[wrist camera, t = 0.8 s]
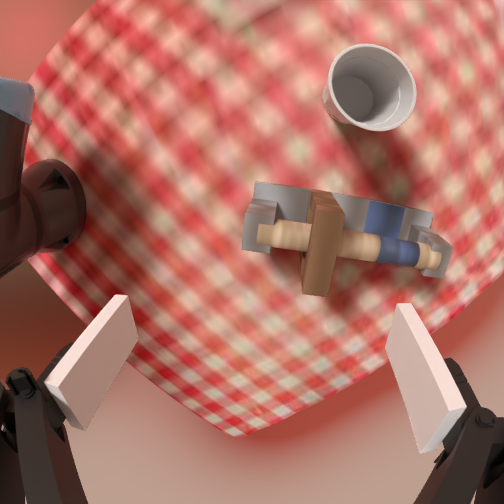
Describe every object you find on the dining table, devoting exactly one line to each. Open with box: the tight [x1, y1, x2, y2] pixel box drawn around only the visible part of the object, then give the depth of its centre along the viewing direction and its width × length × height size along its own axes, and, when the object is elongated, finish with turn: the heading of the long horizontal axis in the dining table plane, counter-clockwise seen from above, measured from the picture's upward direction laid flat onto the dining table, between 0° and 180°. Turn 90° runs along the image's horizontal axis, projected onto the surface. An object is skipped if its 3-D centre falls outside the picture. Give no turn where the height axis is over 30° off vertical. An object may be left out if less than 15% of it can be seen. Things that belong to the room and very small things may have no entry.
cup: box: [323, 44, 417, 131], centre depth 27 cm, size 8×8×12 cm
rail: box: [241, 181, 453, 279], centre depth 34 cm, size 24×8×8 cm, turn 84°
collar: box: [300, 189, 345, 297], centre depth 33 cm, size 2×8×10 cm, turn 174°
